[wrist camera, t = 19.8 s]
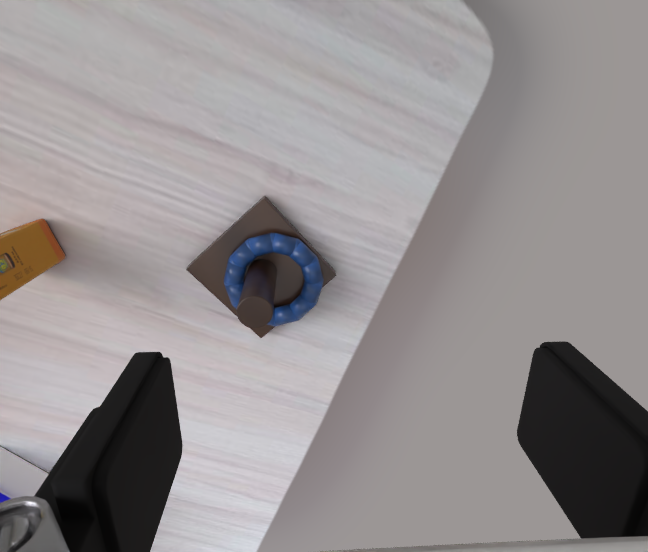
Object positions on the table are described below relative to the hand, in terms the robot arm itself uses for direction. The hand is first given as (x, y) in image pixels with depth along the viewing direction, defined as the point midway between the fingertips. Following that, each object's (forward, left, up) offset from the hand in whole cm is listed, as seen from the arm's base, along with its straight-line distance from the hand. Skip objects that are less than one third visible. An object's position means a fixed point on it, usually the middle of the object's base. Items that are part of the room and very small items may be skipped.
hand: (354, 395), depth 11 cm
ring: (+6, +2, -21) cm, 22 cm away
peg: (+6, +1, -23) cm, 24 cm away
